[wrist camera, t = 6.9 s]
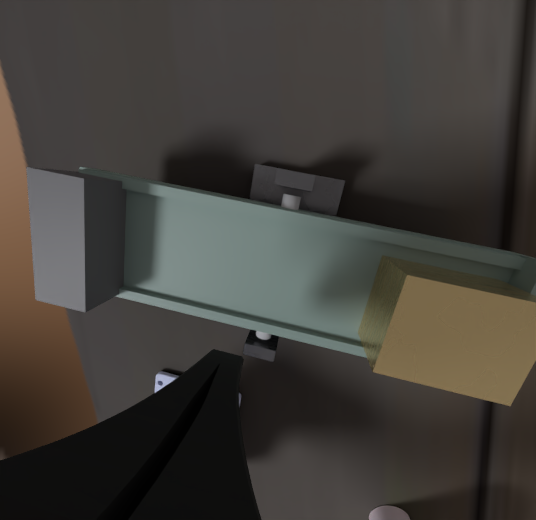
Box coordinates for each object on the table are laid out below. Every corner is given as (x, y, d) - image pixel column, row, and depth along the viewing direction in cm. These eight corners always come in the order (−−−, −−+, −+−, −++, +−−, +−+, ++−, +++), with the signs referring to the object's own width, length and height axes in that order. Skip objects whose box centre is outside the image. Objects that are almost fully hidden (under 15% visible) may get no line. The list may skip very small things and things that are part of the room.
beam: (456, 377, 16) (506, 437, 12) (95, 289, 18) (36, 315, 14) (520, 239, 14) (609, 258, 10) (95, 157, 16) (24, 144, 12)
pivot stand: (304, 333, 21) (303, 374, 16) (232, 316, 21) (212, 350, 17) (343, 181, 17) (356, 176, 13) (257, 165, 18) (241, 155, 13)
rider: (463, 357, 15) (510, 406, 11) (357, 332, 15) (372, 371, 12) (498, 279, 13) (564, 308, 10) (382, 255, 14) (407, 275, 10)
